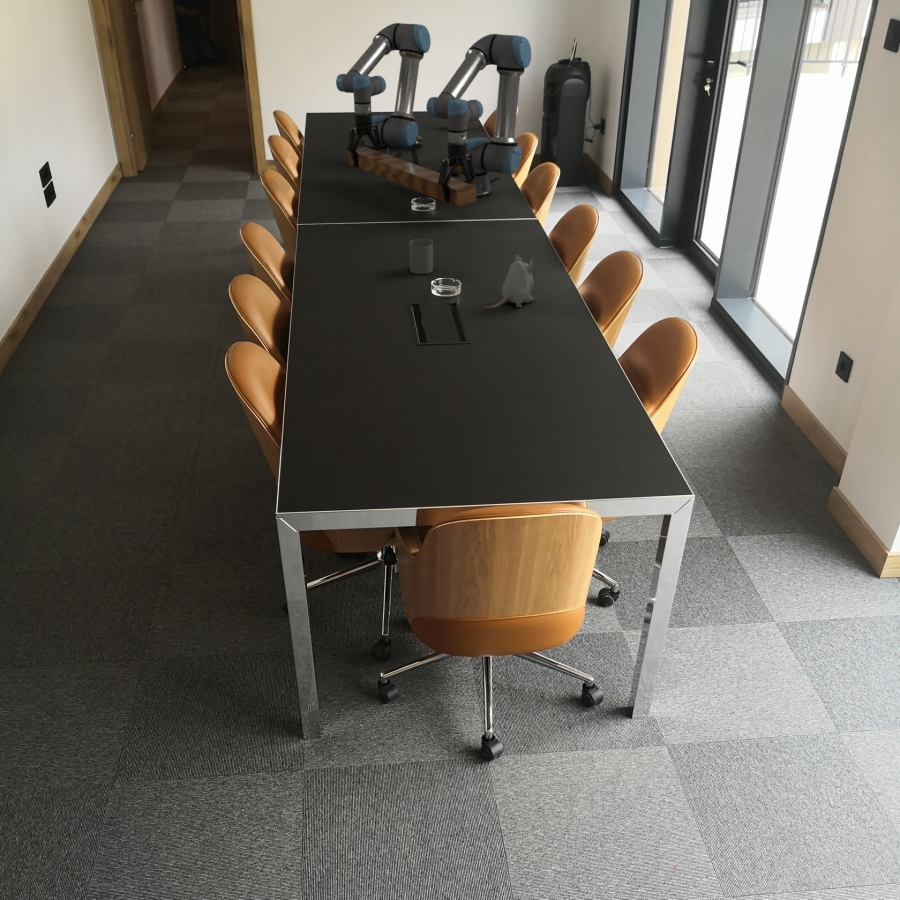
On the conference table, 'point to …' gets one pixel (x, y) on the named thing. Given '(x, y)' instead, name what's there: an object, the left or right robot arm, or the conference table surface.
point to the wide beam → (413, 176)
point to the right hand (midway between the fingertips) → (456, 199)
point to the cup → (421, 256)
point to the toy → (517, 283)
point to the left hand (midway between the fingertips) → (365, 164)
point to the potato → (456, 170)
